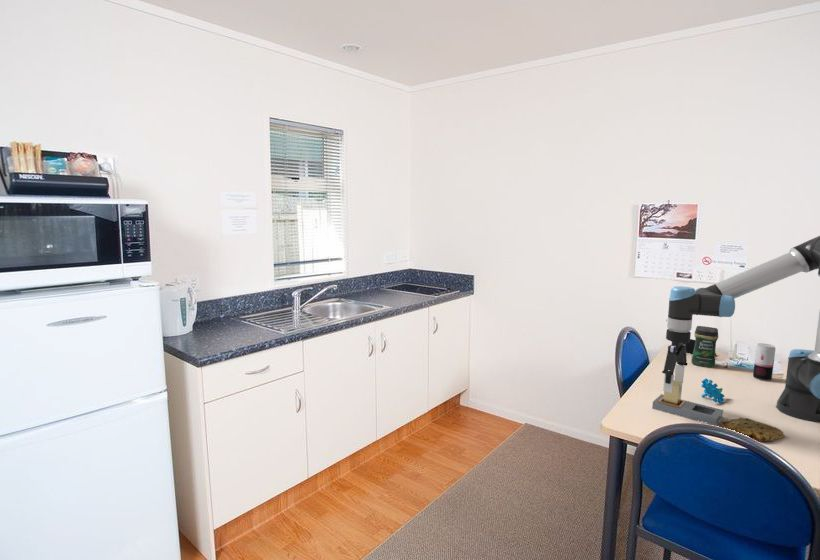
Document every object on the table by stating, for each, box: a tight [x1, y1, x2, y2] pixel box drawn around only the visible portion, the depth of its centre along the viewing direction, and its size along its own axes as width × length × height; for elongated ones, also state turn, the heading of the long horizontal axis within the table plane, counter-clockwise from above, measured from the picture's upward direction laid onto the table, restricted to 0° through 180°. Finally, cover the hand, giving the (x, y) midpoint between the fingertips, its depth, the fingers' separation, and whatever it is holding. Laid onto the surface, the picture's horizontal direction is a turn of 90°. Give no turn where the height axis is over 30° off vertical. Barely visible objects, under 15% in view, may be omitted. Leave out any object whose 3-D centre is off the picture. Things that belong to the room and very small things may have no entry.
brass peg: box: [663, 379, 683, 406], centre depth 169 cm, size 4×4×10 cm
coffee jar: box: [690, 325, 719, 368], centre depth 219 cm, size 10×8×19 cm
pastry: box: [720, 417, 785, 442], centre depth 153 cm, size 17×17×3 cm
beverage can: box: [752, 342, 777, 382], centre depth 202 cm, size 7×7×15 cm
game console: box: [686, 338, 717, 357], centre depth 238 cm, size 16×14×9 cm
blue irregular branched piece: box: [700, 377, 725, 404], centre depth 179 cm, size 11×6×10 cm
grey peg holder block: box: [652, 394, 724, 426], centre depth 167 cm, size 20×10×3 cm, turn 46°
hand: (673, 386), depth 169 cm, fingers open, 13 cm apart
